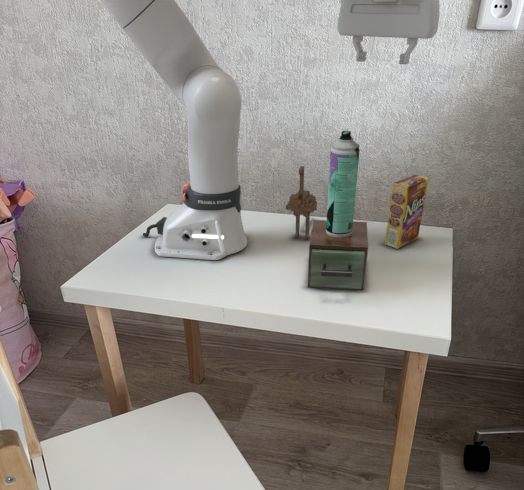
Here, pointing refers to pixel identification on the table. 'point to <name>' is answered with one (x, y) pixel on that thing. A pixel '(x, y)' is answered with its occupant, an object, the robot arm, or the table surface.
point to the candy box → (406, 211)
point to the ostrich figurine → (302, 205)
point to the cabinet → (338, 244)
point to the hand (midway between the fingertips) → (381, 62)
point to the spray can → (342, 186)
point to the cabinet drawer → (337, 268)
